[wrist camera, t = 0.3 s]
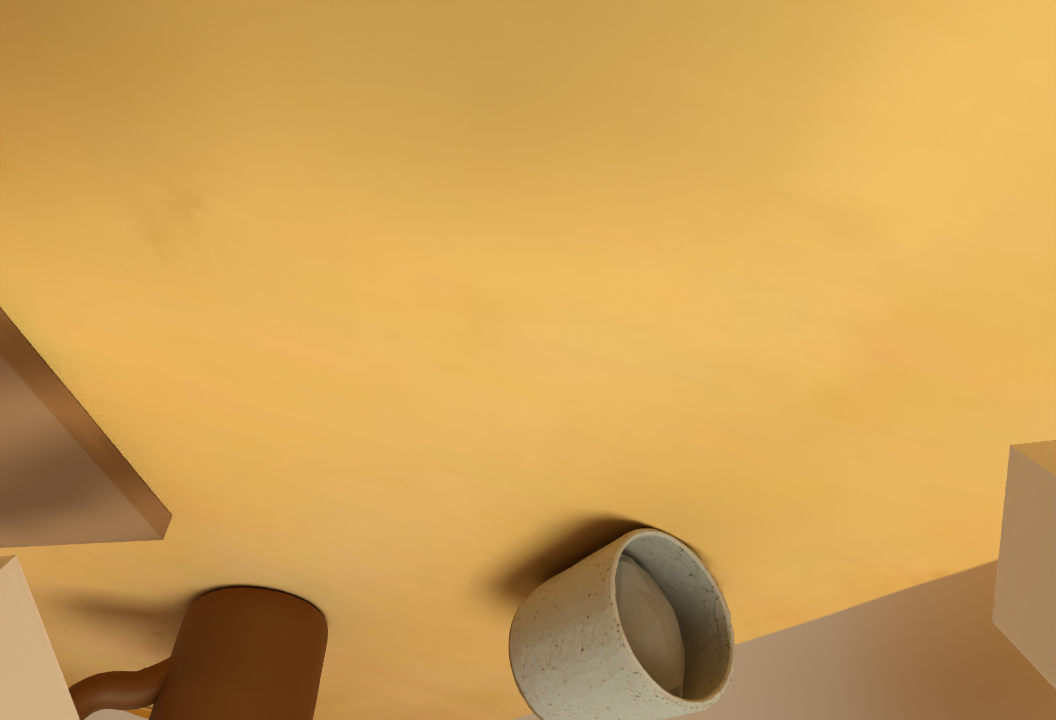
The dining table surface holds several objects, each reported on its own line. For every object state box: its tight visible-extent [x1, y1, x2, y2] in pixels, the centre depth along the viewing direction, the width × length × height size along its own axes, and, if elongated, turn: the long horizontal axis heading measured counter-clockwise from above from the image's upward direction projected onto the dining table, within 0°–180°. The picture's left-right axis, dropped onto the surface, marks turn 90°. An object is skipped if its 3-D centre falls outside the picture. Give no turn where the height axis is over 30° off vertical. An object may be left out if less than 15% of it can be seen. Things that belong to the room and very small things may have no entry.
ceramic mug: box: [509, 528, 735, 720], centre depth 35 cm, size 11×8×8 cm
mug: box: [68, 587, 328, 720], centre depth 37 cm, size 12×8×9 cm, turn 63°
